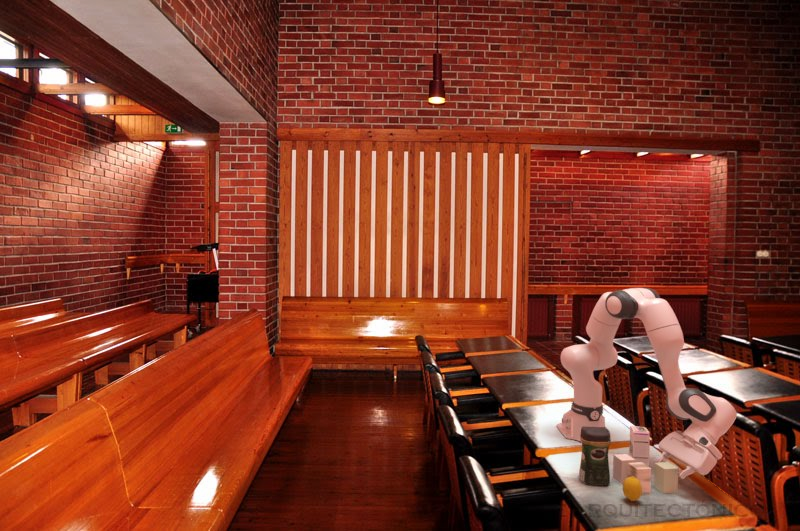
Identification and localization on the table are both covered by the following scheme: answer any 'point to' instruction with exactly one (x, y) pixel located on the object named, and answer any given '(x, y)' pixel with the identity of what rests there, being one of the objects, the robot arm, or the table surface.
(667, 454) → the robot arm
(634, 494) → the lemon
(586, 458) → the coffee jar
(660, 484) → the beige rectangular block
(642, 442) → the syrup box
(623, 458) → the pink rectangular block
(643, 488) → the pink tall block
